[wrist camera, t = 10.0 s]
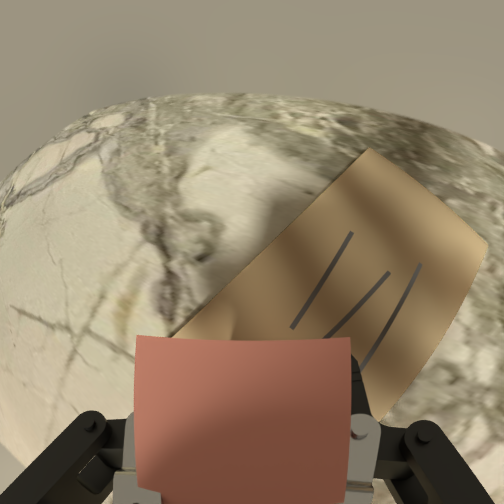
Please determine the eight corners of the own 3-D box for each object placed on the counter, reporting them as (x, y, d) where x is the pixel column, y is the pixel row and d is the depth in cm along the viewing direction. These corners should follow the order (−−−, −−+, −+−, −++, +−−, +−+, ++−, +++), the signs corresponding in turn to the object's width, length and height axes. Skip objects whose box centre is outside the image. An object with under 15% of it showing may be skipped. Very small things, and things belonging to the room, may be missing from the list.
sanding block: (225, 354, 15) (135, 332, 6) (310, 353, 14) (352, 334, 5) (224, 432, 13) (138, 510, 4) (309, 433, 13) (342, 527, 3)
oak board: (366, 157, 20) (369, 147, 19) (480, 251, 16) (488, 245, 15) (149, 367, 16) (140, 366, 15) (282, 498, 12) (281, 506, 11)
